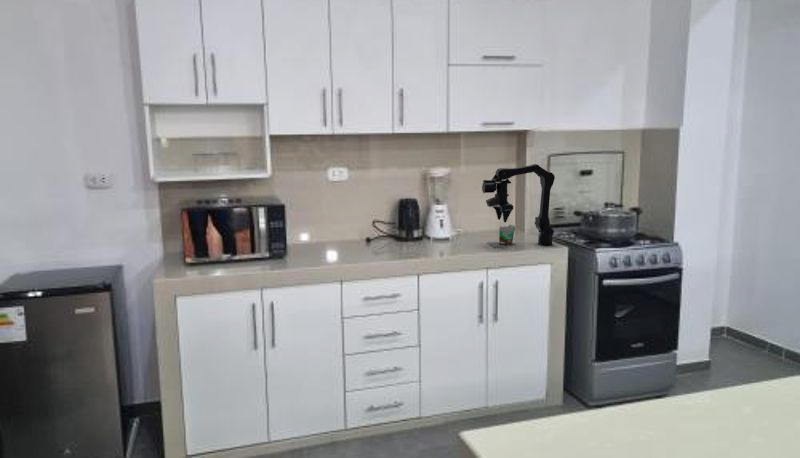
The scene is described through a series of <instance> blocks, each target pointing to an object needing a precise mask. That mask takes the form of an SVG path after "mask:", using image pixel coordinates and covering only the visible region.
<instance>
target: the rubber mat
mask: <svg viewBox="0 0 800 458" xmlns="http://www.w3.org/2000/svg"><path fill="white" fill-rule="evenodd" d="M486 244H488V245H489V246H491V247H492V248H493V249H494V248H506V246H507V245H499V241H495V242H494V241H492V242H491V241H490V242H489V241H488V242H486Z"/></svg>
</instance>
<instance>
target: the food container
mask: <svg viewBox="0 0 800 458" xmlns="http://www.w3.org/2000/svg"><path fill="white" fill-rule="evenodd" d="M498 230H499V235H498V237H499V240H498V242H499V245H504V246H511V245H513V241H514V234H515V232H516V230H517V229H516V226H515V225H513V224H509V225H508V226H505V225H504V226H499V229H498Z"/></svg>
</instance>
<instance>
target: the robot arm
mask: <svg viewBox="0 0 800 458" xmlns="http://www.w3.org/2000/svg"><path fill="white" fill-rule="evenodd" d="M532 173H534V174H536V175H537V176H538V177H539V182H540V183H539V184H540V186H541V191H540V192H541V195H540V196H541V197H540V205H539V214H538V216H535V217H534V218H535V219H534V220H535V221H534V225H535V228H536V229H537V230H538V233H539V235H538V239H537V241H538V242H537V244H538V245H540V246H541V247H542V246H543V247H544V246H554V244H553V236H554V233H555V230H554V229H553V228H552V227H551V223H550V217H549V209H550V208H549V207H550V197H551V189H552V188H553V186H554V184H555V183H554V182H555V179H556V177H555V175H554V173H553V172H550V171H548V170H546V169H545V168H543V167H541V166H540V165H539V164H536V163H534V164H530V165H524V166H519V167H517V166H516V167H512V168H509V167H508V168H507V167H500V168H498V169H496V170H495V174H494V175H493V177H492V178H491V179H489V180H488V179H483V181H482V184H481V185H482V186H481V190H482V193H483V194H486V193H487V194H489V193H490V194H491V193H492V194H493V193H495V192H496V193H495V194H494V197H490V198H488V199H486V200H485V202H486V206H487V207H489V208H493V209H494V211H495V214H496V217H497V220H501V218H502V219H503V223H506V222H507V221H508V219H509V217H510V214H511V213H512V212H513V210H514V205H513V204H512V203H510V202H509V201H508V197H509V193H508V184H510V185H511V184H512V181H511V180H509V179H511V178H512V177H514V176H520V175H524V174H532Z"/></svg>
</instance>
